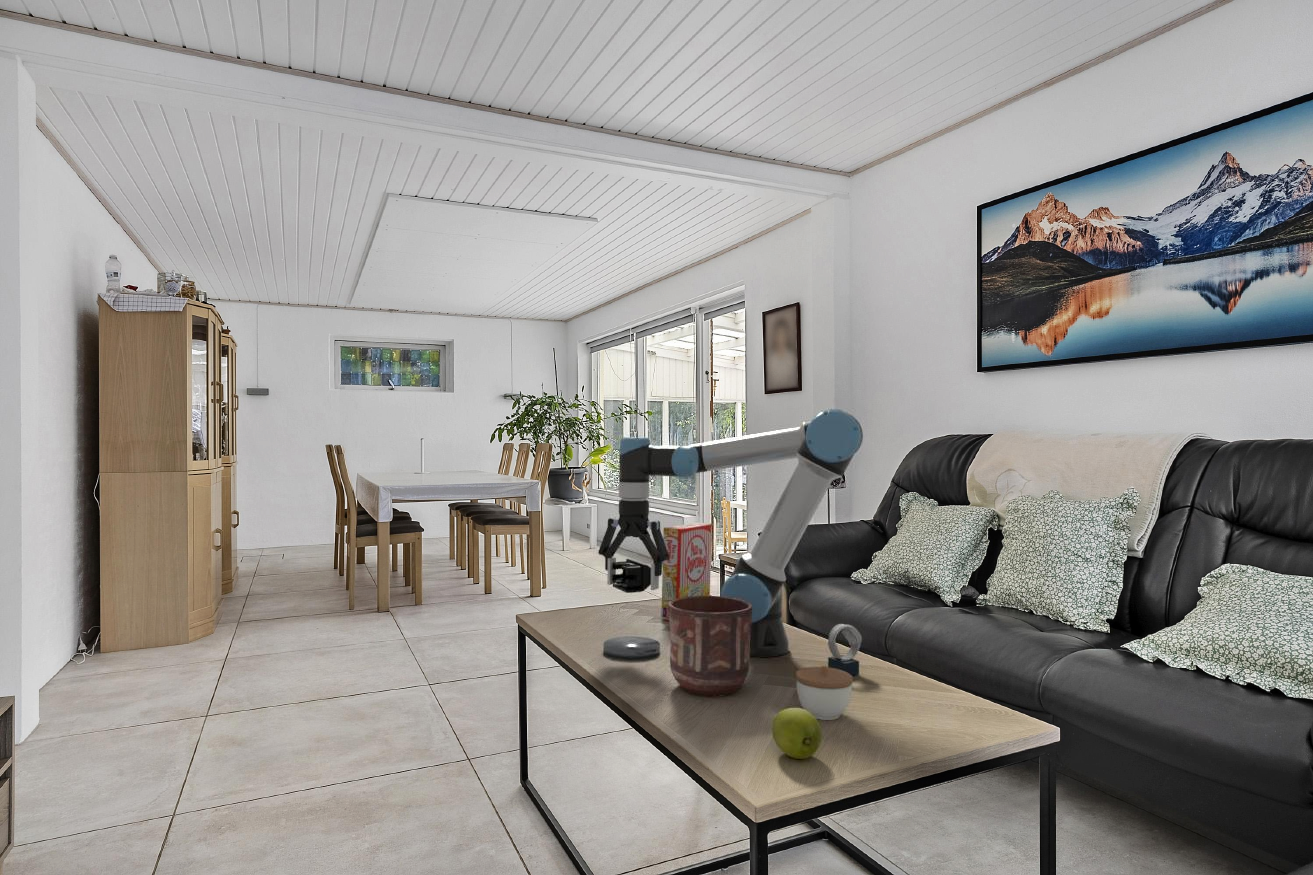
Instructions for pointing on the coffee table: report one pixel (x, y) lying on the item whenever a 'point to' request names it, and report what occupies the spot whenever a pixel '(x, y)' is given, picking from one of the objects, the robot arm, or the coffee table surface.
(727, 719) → the coffee table surface
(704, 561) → the popcorn box
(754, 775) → the coffee table surface
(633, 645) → the plate
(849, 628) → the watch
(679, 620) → the pottery
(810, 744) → the green lime
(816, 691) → the lidded jar
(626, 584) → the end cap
